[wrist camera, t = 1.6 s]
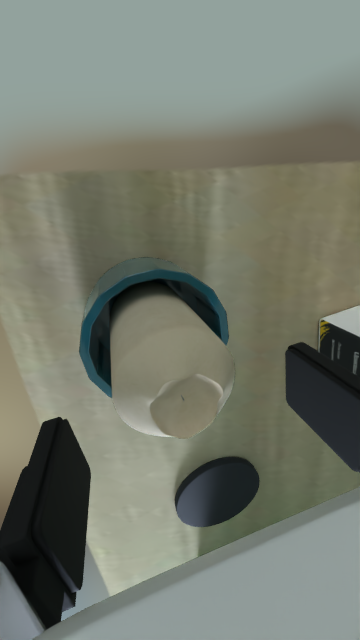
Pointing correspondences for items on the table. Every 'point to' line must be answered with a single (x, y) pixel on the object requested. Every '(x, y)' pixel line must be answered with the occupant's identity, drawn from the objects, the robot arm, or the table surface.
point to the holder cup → (118, 280)
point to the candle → (166, 363)
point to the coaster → (216, 491)
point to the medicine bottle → (342, 338)
